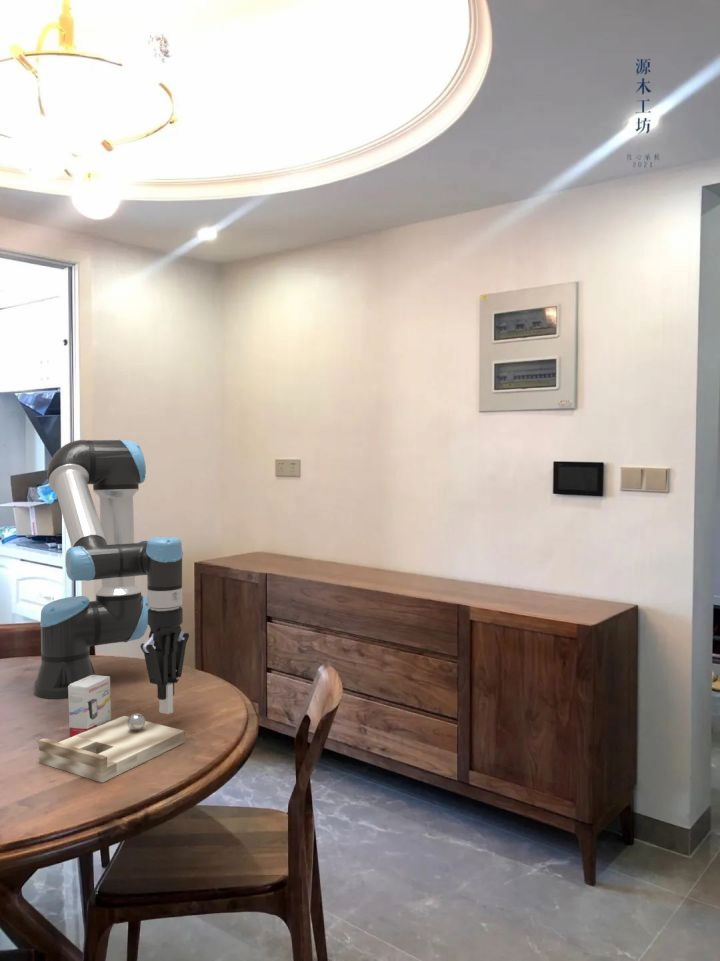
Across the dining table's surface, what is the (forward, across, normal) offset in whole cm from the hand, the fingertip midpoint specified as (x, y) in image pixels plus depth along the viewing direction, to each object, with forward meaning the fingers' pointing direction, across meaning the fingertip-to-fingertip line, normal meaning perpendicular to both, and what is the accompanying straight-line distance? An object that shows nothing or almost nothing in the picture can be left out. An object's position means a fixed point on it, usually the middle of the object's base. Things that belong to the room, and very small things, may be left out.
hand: (166, 712), depth 165 cm
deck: (+4, -15, 0) cm, 15 cm away
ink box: (+4, -10, +12) cm, 17 cm away
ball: (-1, -9, 0) cm, 9 cm away
